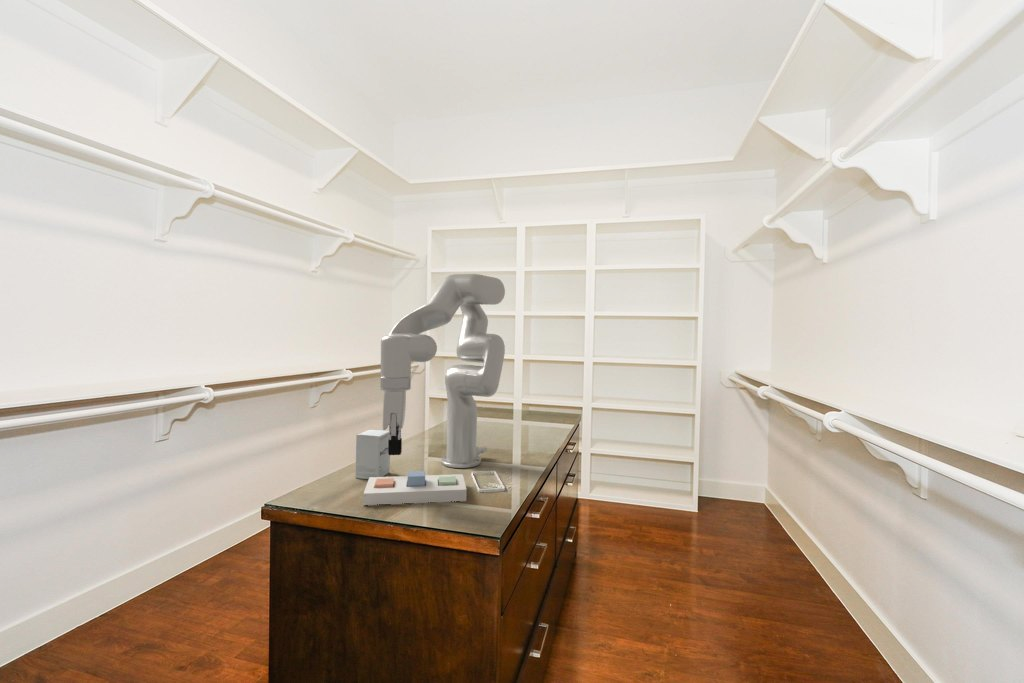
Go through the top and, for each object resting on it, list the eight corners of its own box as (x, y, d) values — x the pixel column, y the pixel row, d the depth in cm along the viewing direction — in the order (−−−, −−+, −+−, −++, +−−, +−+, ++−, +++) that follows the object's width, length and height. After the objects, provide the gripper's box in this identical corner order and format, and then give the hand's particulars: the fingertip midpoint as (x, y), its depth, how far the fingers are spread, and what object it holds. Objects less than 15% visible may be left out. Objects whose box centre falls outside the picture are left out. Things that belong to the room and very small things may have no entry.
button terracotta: (394, 490, 123) (394, 478, 122) (392, 496, 118) (393, 484, 118) (376, 490, 122) (376, 478, 122) (374, 497, 117) (375, 484, 117)
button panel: (462, 484, 130) (462, 474, 130) (466, 501, 118) (466, 489, 118) (369, 488, 125) (369, 477, 125) (363, 505, 113) (363, 493, 113)
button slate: (425, 482, 124) (425, 470, 124) (425, 488, 120) (425, 476, 120) (408, 483, 123) (408, 471, 123) (407, 489, 119) (407, 476, 119)
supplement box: (378, 480, 131) (379, 436, 131) (354, 478, 133) (355, 434, 132) (390, 472, 139) (391, 430, 138) (367, 470, 140) (368, 428, 140)
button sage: (455, 487, 126) (455, 476, 125) (456, 493, 121) (456, 481, 121) (438, 488, 125) (438, 476, 125) (439, 494, 120) (439, 482, 120)
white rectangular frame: (505, 493, 126) (495, 475, 140) (505, 488, 126) (495, 470, 140) (478, 494, 124) (470, 476, 139) (478, 489, 124) (470, 471, 139)
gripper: (383, 379, 126) (383, 446, 127) (376, 387, 111) (376, 463, 112) (412, 379, 127) (411, 445, 128) (408, 387, 113) (408, 462, 113)
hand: (394, 453), depth 120 cm, fingers closed
